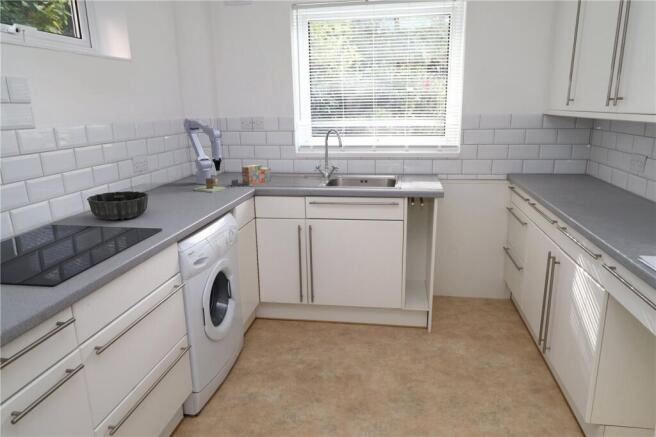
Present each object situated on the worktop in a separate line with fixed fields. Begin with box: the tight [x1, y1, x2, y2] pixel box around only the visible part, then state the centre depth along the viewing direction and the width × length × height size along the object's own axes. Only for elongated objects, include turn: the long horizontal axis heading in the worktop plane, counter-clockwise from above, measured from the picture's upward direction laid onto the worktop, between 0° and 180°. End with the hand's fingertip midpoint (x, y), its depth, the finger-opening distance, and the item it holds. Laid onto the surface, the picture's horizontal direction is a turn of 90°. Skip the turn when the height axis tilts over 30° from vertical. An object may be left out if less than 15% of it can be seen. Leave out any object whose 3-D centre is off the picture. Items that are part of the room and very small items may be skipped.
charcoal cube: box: [230, 178, 239, 187], centre depth 285 cm, size 4×4×4 cm
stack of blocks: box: [241, 164, 272, 186], centre depth 295 cm, size 21×6×12 cm, turn 146°
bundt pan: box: [86, 190, 150, 221], centre depth 207 cm, size 26×26×10 cm
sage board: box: [192, 185, 227, 193], centre depth 272 cm, size 16×12×1 cm
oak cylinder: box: [212, 178, 219, 187], centre depth 282 cm, size 4×4×5 cm
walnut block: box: [205, 177, 214, 189], centre depth 271 cm, size 4×4×6 cm
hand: (217, 170), depth 281 cm, fingers open, 7 cm apart
